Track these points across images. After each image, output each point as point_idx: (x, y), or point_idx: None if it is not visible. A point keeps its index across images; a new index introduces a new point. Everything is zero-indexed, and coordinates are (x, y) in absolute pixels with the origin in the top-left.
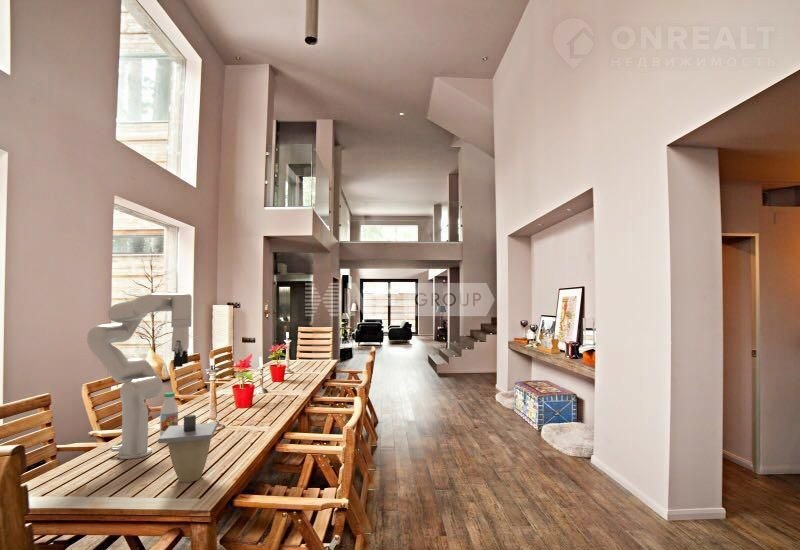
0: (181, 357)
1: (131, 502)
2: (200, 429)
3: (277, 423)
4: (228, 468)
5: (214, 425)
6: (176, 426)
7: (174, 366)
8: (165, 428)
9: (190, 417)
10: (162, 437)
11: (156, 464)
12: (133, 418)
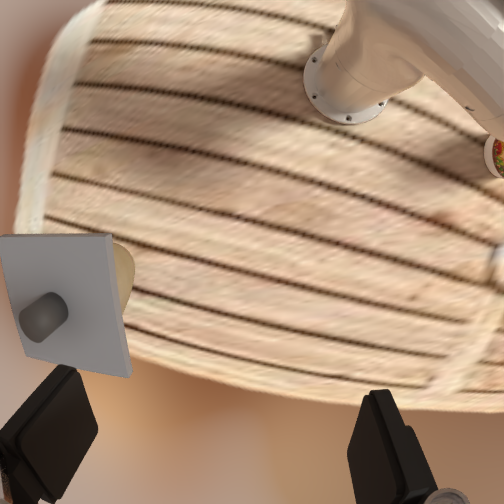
0: (41, 487)
1: (32, 182)
2: (61, 335)
3: (465, 401)
4: (162, 337)
5: (97, 369)
6: (94, 262)
7: (61, 369)
8: (496, 147)
9: (21, 328)
10: (5, 244)
11: (235, 161)
12: (335, 45)
